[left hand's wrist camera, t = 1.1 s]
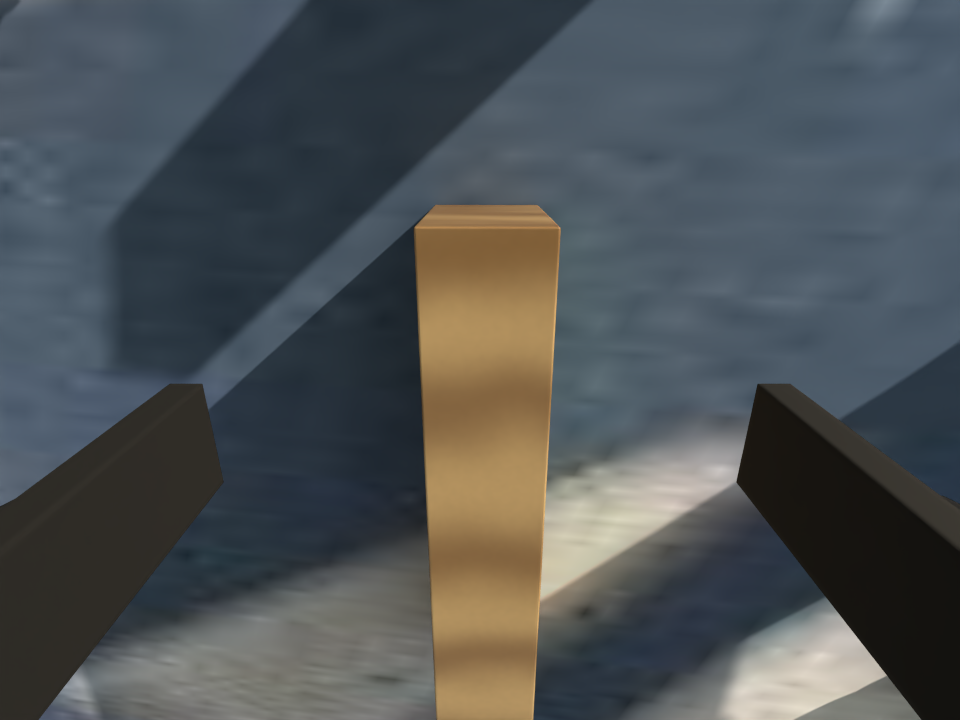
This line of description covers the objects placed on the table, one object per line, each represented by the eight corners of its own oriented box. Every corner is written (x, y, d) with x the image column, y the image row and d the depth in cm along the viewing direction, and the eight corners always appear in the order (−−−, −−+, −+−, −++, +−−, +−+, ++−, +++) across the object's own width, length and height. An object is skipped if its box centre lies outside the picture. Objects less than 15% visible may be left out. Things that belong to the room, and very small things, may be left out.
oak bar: (434, 204, 25) (413, 226, 18) (538, 204, 25) (561, 226, 18) (447, 632, 35) (437, 760, 28) (521, 633, 35) (530, 760, 28)
